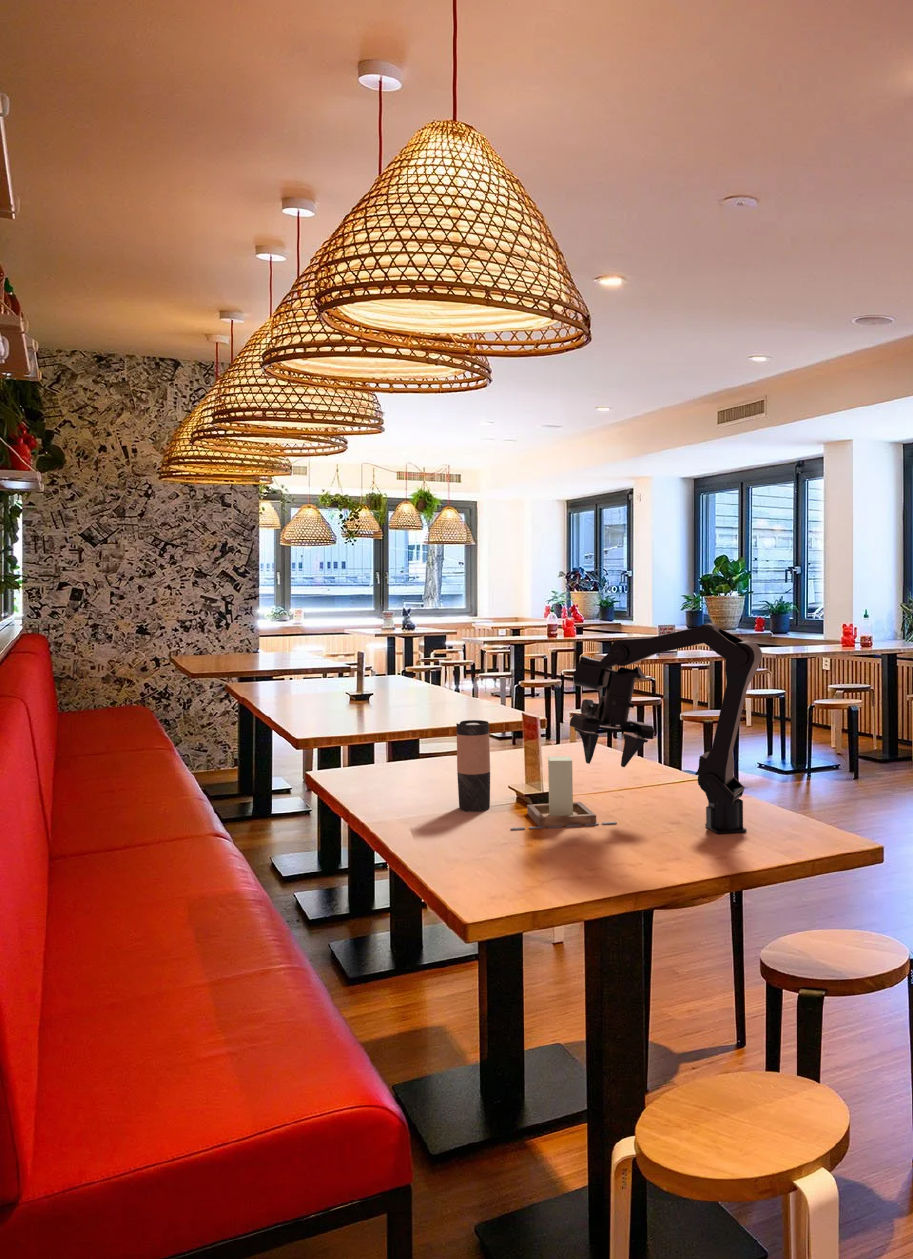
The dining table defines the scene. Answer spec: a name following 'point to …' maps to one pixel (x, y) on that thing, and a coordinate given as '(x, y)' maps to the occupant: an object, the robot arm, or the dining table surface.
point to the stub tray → (542, 817)
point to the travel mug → (473, 765)
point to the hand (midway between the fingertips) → (605, 765)
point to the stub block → (560, 785)
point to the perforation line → (561, 826)
